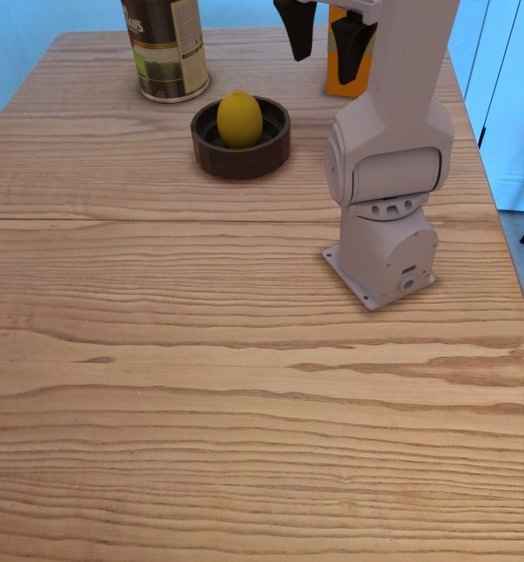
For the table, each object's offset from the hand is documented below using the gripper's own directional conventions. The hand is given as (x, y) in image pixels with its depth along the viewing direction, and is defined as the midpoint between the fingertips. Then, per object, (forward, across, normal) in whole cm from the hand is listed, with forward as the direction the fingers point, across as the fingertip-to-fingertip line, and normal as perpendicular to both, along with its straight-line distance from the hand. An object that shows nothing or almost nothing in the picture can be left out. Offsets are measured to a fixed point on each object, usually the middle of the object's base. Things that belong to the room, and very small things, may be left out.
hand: (324, 69), depth 67 cm
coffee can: (+10, -26, -6) cm, 28 cm away
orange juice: (+10, -7, +14) cm, 18 cm away
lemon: (+9, -5, -9) cm, 14 cm away
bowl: (+9, -5, -9) cm, 14 cm away
